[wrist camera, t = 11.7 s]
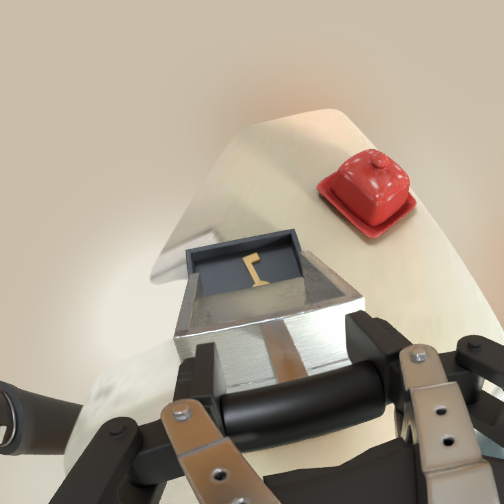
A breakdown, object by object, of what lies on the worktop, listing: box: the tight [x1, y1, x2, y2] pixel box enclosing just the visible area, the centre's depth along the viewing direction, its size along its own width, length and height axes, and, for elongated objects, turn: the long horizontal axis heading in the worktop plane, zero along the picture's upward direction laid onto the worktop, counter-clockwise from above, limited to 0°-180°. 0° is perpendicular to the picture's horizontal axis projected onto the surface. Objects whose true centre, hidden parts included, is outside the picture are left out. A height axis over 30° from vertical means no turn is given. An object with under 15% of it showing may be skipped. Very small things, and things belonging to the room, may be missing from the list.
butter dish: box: [317, 149, 417, 239], centre depth 39 cm, size 12×12×8 cm
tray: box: [186, 229, 303, 296], centre depth 36 cm, size 13×9×2 cm
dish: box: [173, 251, 386, 453], centre depth 19 cm, size 22×10×5 cm
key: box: [242, 253, 269, 287], centre depth 37 cm, size 6×3×1 cm, turn 25°
